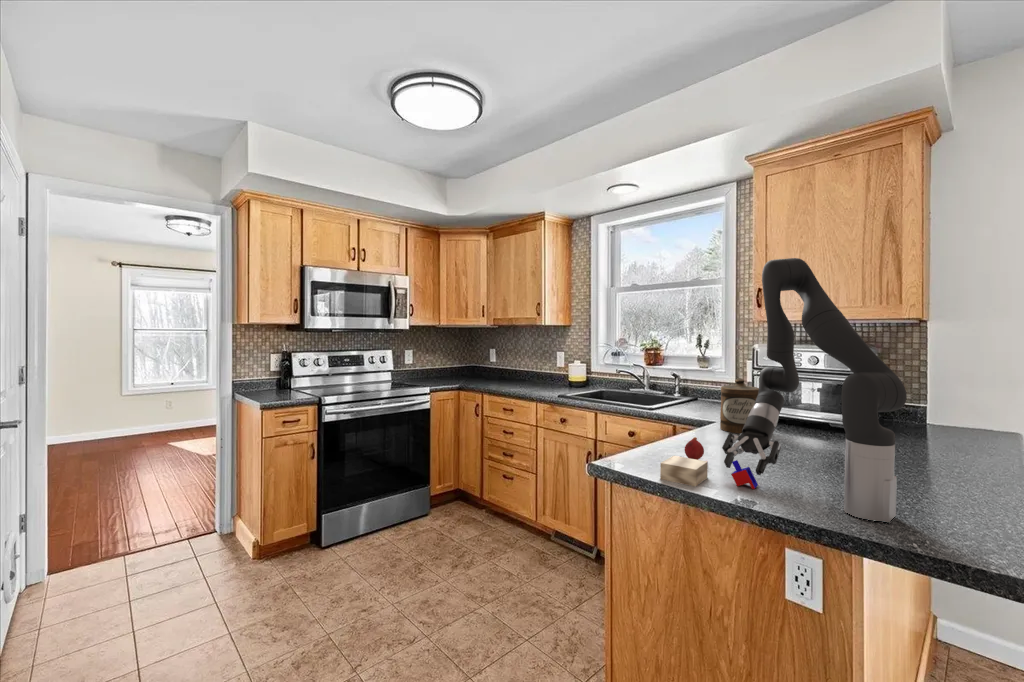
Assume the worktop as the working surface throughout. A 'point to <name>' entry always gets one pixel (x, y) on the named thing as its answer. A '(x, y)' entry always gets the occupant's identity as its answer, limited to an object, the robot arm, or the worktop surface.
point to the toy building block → (743, 476)
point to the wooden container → (736, 405)
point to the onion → (694, 449)
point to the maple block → (684, 470)
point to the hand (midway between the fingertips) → (742, 469)
